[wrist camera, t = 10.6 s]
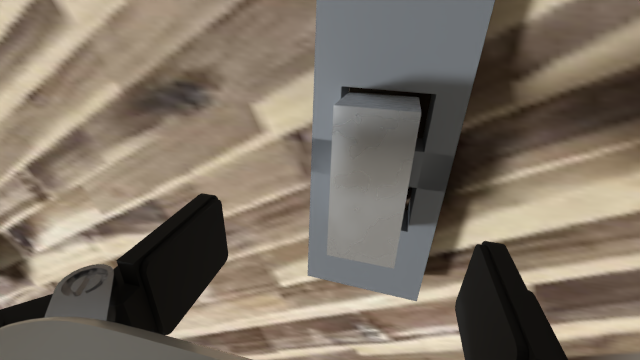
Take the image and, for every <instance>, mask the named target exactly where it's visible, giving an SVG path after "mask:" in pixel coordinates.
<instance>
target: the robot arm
mask: <svg viewBox="0 0 640 360" xmlns="http://www.w3.org/2000/svg"><path fill="white" fill-rule="evenodd" d="M227 258H228V248H227V241H226V233H225V226H224V218H223V211H222V204H221V201H220V200H218V198H217V196H215V195H209V194H200V195H198V196H197V197H196V198H194V199H193V200H192V201H191V202H189V203H188V204H187V205H186V206H184V207H183V208H182V209H181V210H179V211H178V212H177V213H175V214H174V215H173V216H172V217H170V218H169V219H168V220H167V221H165V222H164V223H163V224H162V225H160V226H159V227H158V228H157V229H155V230H154V231H153V232H152V233H150V234H149V235H148V236H147V237H145V238H144V239H143V240H142V241H140V242H139V243H138V244H137V245H135V246H134V247H133V248H132V249H130V250H129V251H128V252H126V253H125V254H124V255H123V256H121V257H120V258H119V259H118V260H116V261H117V264H118V266H117V267H116V268H115V269H112V267H111V266H108V265H105V264H96V265H90V266H87V267H84V268H81V269H78V270H76V271H74V272H72V273H71V274H69V275H68V276H66V277H65V278H63V279H62V280H61V281H60V282H59V283H58V285H57V286H56V288H55V290H54V293H53V294H51V295H47V296H44V297H41V298H38V299H34V300H31V301H28V302H24V303H21V304H18V305H14V306H11V307H8V308H4V309H1V310H0V360H252V359H248V358H245V357H241V356H238V355H234V354H231V353H227V352H223V351H220V350H216V349H212V348H209V347H205V346H202V345H198V344H194V343H191V342H187V341H183V340H180V339H176V338H173V337H169V336H165V335H168V334H170V333H171V332H172V331H173V330H174V329H175V327H176V326H177V325H178V324H179V322H180V321H181V320H182V318H183V317H184V316H185V314H186V313H187V312H188V311H189V309H190V308H191V307H192V305H193V304H194V303H195V301H196V300H197V299H198V298H199V296H200V295H201V294H202V292H203V291H204V290H205V288H206V287H207V286H208V284H209V283H210V282H211V281H212V279H213V278H214V277H215V275H216V274H217V273H218V271H219V270H220V269H221V268H222V266H223V265H224V264H225V262H226V260H227ZM455 311H456V317H457V322H458V327H459V332H460V337H461V342H462V347H463V352H464V357H465V360H568V359H567V357H566V355H565V353H564V351H563V349H562V347H561V345H560V343H559V341H558V339H557V337H556V335H555V334H554V332H553V330H552V328H551V326H550V324H549V322H548V320H547V318H546V316H545V314H544V312H543V310H542V308H541V306H540V304H539V303H538V301H537V299H536V297H535V295H534V294H533V293H532V292H531V291H529V290H527V288H526V286H525V284H524V282H523V280H522V278H521V276H520V274H519V272H518V270H517V268H516V266H515V264H514V262H513V260H512V258H511V256H510V254H509V252H508V250H507V248H506V246H505V245H504V244H500V243H494V242H488V241H484V242H483V243H482V245H480V244H477V245H476V246H475V249H474V252H473V255H472V257H471V260H470V263H469V266H468V269H467V272H466V274H465V277H464V280H463V283H462V286H461V289H460V291H459V294H458V297H457V300H456V305H455Z"/></svg>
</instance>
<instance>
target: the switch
mask: <svg viewBox="0 0 640 360" xmlns="http://www.w3.org/2000/svg"><path fill="white" fill-rule="evenodd" d="M494 2H495V0H317V8H316V39H315V69H314V100H313V130H312V161H311V192H310V222H309V253H308V276H312V277H316V278H320V279H325V280H329V281H333V282H337V283H341V284H346V285H350V286H354V287H358V288H363V289H367V290H371V291H375V292H380V293H384V294H388V295H392V296H396V297H401V298H405V299H409V300H413V301H417V298H418V294H419V290H420V287H421V283H422V279H423V275H424V271H425V267H426V263H427V260H428V256H429V252H430V248H431V244H432V240H433V237H434V233H435V229H436V225H437V221H438V217H439V213H440V210H441V206H442V202H443V198H444V194H445V190H446V187H447V183H448V179H449V175H450V171H451V167H452V164H453V160H454V156H455V152H456V148H457V144H458V140H459V137H460V133H461V129H462V125H463V121H464V117H465V114H466V110H467V106H468V102H469V98H470V94H471V90H472V87H473V83H474V79H475V75H476V71H477V67H478V64H479V60H480V56H481V52H482V48H483V44H484V41H485V37H486V33H487V29H488V25H489V21H490V17H491V14H492V10H493V6H494ZM350 87H357V88H369V89H380V90H392V91H404V92H416V93H428V94H431V99H430V104H429V109H428V114H427V118H426V123H425V128H424V133H423V138H417V140H416V146H415V151H414V157H413V163H412V169H411V174H410V180H409V186H408V187H412V192H411V197H410V202H409V207H408V211H407V210H404V215H403V220H402V226H401V232H400V237H399V243H398V249H397V255H396V260H395V266H394V268H389V267H384V266H379V265H374V264H369V263H364V262H359V261H354V260H349V259H344V258H339V257H334V256H329V255H327V240H328V218H329V195H330V173H331V150H332V128H333V105H334V104H336V103H337V102H338V101H339V100H340V99H342V98H343V97H344V96H345V95H346V94H348V93H349V90H350Z"/></svg>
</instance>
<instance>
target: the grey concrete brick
mask: <svg viewBox="0 0 640 360" xmlns="http://www.w3.org/2000/svg"><path fill="white" fill-rule="evenodd" d="M420 117H421V107H420V102H419V97H416V96H403V95H388V94H374V93H359V92H357V93H348V94H346V95H345V96H344V97H343V98H342V99H340V100H339V101H338V102H337V103H336V104H334V105H333V128H332V150H331V173H330V195H329V218H328V240H327V255H329V256H334V257H339V258H344V259H349V260H354V261H359V262H364V263H369V264H374V265H379V266H384V267H389V268H394V266H395V260H396V255H397V249H398V243H399V237H400V232H401V226H402V220H403V215H404V209H405V203H406V197H407V192H408V186H409V180H410V174H411V169H412V163H413V157H414V151H415V146H416V140H417V134H418V128H419V123H420Z"/></svg>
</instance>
